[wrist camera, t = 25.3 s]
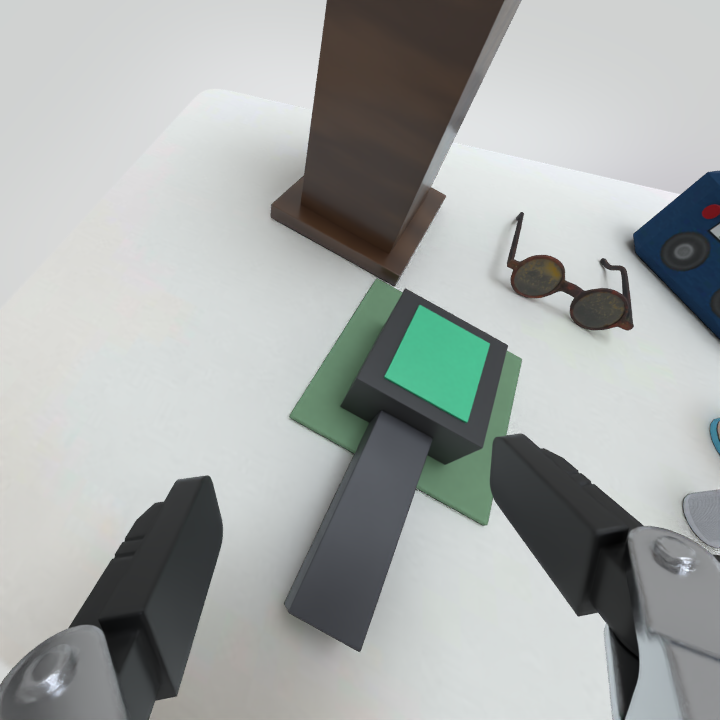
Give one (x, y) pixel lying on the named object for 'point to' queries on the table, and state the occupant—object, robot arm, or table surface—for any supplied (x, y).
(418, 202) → the stand
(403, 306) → the green-topped block with handle
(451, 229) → the table surface
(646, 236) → the radio
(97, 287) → the table surface
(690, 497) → the bottle
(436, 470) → the mat
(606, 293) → the eyeglasses
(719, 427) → the printed can
